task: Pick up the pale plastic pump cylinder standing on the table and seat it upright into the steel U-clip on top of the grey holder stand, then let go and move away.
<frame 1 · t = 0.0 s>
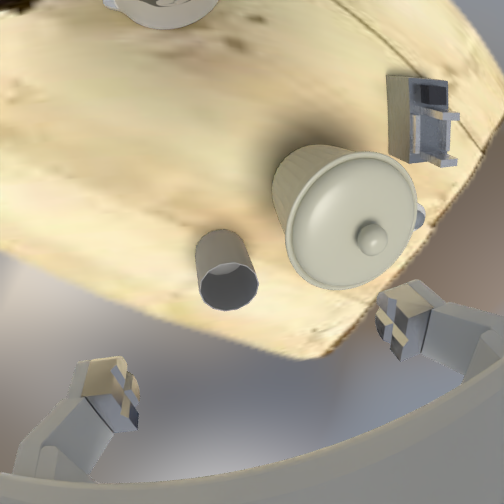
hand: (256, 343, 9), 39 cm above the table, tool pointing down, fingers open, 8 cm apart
canister: (308, 182, 50), on the table
cup: (220, 251, 53), on the table
grey holder stand: (408, 114, 46), on the table
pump: (389, 200, 54), on the table
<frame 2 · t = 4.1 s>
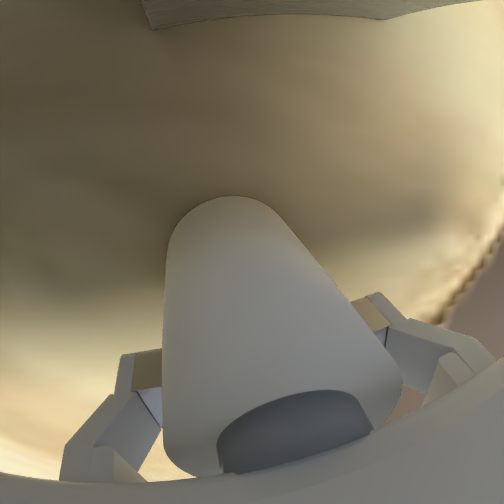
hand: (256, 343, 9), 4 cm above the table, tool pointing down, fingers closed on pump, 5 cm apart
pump: (230, 257, 13), on the table, touching gripper
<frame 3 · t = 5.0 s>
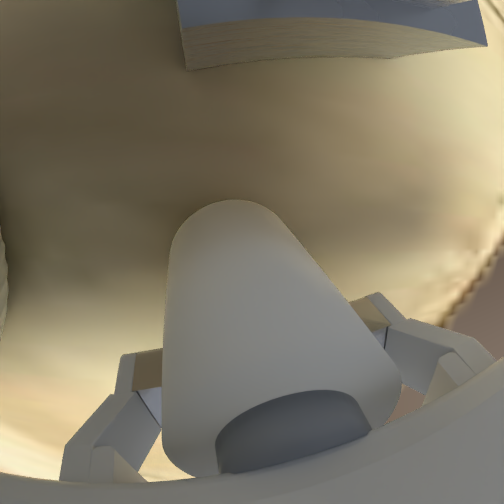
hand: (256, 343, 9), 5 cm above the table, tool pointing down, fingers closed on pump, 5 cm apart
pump: (232, 260, 13), point 1 cm above the table, touching gripper
when the fingers open (11 cm above the table, at t = 8.1 s): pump stays where it is, resting on grey holder stand.
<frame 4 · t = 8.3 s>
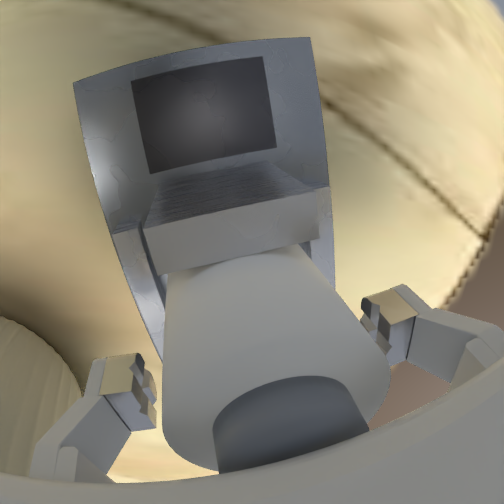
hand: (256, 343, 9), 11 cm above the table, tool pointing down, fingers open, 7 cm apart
canister: (19, 365, 20), on the table
grey holder stand: (212, 191, 18), on the table
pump: (230, 258, 13), point 6 cm above the table, touching grey holder stand
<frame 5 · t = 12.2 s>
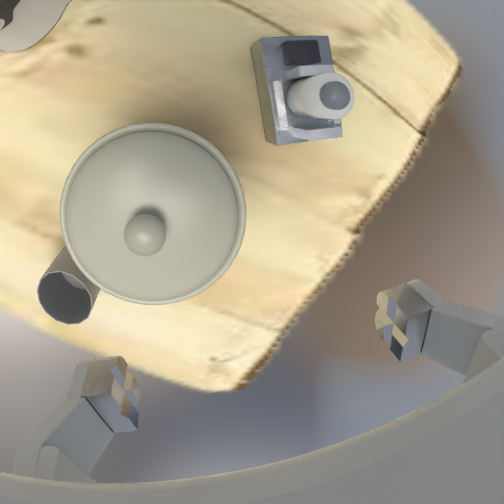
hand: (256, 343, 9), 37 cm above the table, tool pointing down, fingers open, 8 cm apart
canister: (162, 184, 43), on the table
cup: (83, 264, 45), on the table
grey holder stand: (289, 90, 40), on the table
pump: (305, 98, 35), point 6 cm above the table, touching grey holder stand
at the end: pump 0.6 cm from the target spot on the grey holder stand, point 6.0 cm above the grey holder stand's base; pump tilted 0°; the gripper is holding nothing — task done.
